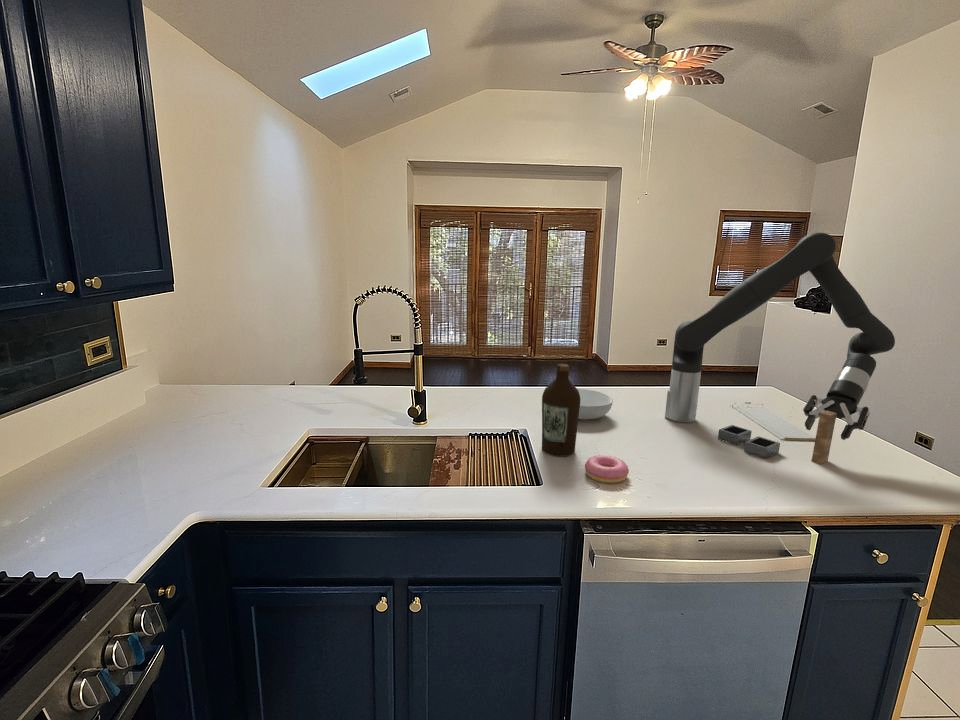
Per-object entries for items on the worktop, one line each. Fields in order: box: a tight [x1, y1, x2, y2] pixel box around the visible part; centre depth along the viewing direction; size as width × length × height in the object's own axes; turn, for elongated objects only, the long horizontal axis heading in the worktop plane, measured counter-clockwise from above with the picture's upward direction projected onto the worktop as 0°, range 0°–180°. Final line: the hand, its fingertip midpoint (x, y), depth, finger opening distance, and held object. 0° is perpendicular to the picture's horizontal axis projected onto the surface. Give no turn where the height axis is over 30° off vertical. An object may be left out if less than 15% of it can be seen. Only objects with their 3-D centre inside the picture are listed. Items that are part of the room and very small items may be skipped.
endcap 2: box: [743, 435, 781, 460], centre depth 143 cm, size 6×8×3 cm
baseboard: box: [731, 401, 816, 442], centre depth 168 cm, size 31×3×12 cm
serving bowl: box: [577, 388, 614, 421], centre depth 172 cm, size 21×21×7 cm
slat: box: [811, 410, 837, 465], centre depth 137 cm, size 2×4×14 cm, turn 125°
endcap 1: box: [717, 424, 752, 446], centre depth 152 cm, size 6×8×3 cm
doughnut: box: [584, 454, 630, 484], centre depth 127 cm, size 11×11×4 cm
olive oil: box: [541, 363, 580, 457], centre depth 140 cm, size 11×11×25 cm
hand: (824, 433), depth 136 cm, fingers open, 8 cm apart
